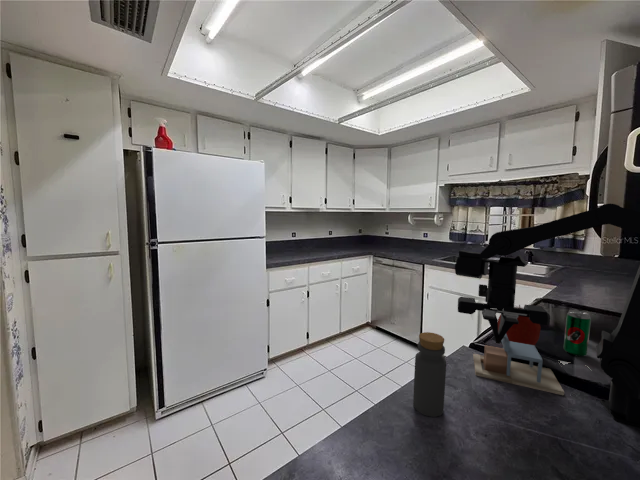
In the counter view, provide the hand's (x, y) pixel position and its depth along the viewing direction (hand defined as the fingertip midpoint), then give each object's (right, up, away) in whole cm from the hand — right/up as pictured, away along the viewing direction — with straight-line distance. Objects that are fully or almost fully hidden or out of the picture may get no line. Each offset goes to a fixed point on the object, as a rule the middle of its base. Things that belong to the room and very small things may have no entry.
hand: (497, 342), depth 71 cm
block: (0, -7, +1) cm, 7 cm away
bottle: (-22, -9, -13) cm, 27 cm away
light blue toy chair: (+4, -6, -1) cm, 8 cm away
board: (+3, -8, -1) cm, 8 cm away
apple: (+13, -7, +11) cm, 18 cm away
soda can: (+29, -7, +10) cm, 31 cm away
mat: (+21, -8, 0) cm, 22 cm away
